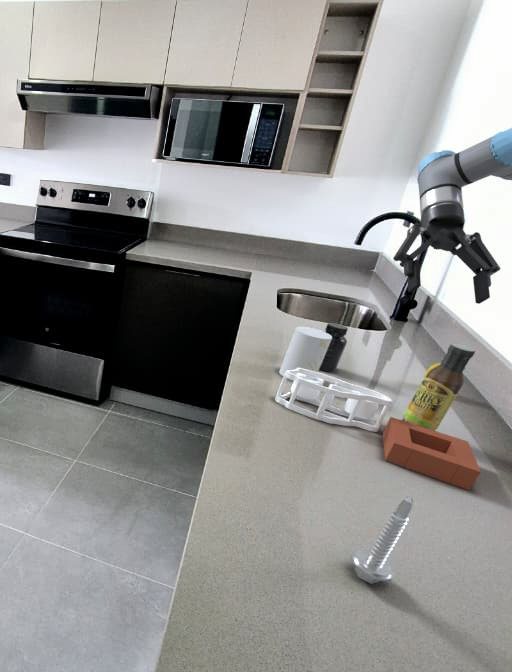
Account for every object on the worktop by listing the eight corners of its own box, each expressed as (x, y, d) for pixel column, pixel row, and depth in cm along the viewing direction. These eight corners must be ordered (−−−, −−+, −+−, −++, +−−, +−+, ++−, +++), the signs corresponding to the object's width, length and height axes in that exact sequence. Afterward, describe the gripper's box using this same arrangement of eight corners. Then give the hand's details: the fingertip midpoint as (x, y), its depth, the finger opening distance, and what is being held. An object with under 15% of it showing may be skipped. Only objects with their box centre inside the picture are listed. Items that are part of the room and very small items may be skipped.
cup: (308, 386, 122) (327, 341, 117) (275, 374, 126) (291, 329, 121) (317, 378, 127) (335, 335, 123) (285, 366, 132) (301, 324, 127)
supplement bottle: (313, 359, 140) (329, 319, 135) (338, 369, 136) (356, 328, 131) (303, 364, 136) (320, 323, 131) (330, 374, 132) (348, 332, 127)
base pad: (457, 458, 99) (467, 441, 97) (469, 490, 88) (481, 472, 86) (382, 433, 104) (390, 416, 102) (385, 460, 94) (394, 442, 92)
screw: (377, 566, 67) (394, 595, 63) (339, 558, 68) (354, 586, 63) (421, 489, 62) (443, 514, 57) (380, 480, 62) (399, 505, 58)
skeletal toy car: (379, 423, 108) (394, 393, 105) (375, 441, 100) (390, 410, 97) (283, 388, 119) (294, 360, 116) (272, 403, 110) (283, 373, 107)
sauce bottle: (391, 423, 109) (435, 339, 101) (411, 422, 111) (455, 339, 103) (420, 440, 104) (468, 352, 95) (440, 438, 106) (489, 352, 97)
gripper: (486, 232, 115) (496, 313, 108) (373, 215, 117) (375, 292, 110) (515, 211, 108) (527, 296, 101) (394, 193, 110) (398, 274, 103)
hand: (448, 294), depth 105 cm, fingers open, 13 cm apart
